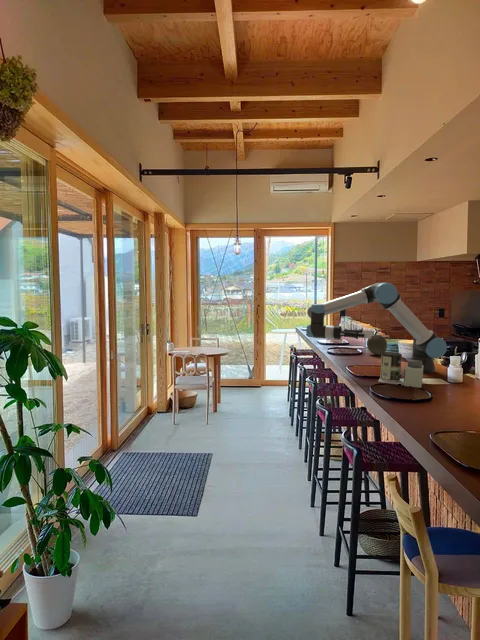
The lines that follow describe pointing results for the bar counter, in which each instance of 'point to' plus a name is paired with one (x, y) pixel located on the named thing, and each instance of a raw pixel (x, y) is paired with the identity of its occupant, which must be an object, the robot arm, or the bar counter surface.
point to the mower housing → (410, 375)
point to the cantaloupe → (377, 344)
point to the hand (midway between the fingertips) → (372, 334)
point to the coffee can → (390, 366)
